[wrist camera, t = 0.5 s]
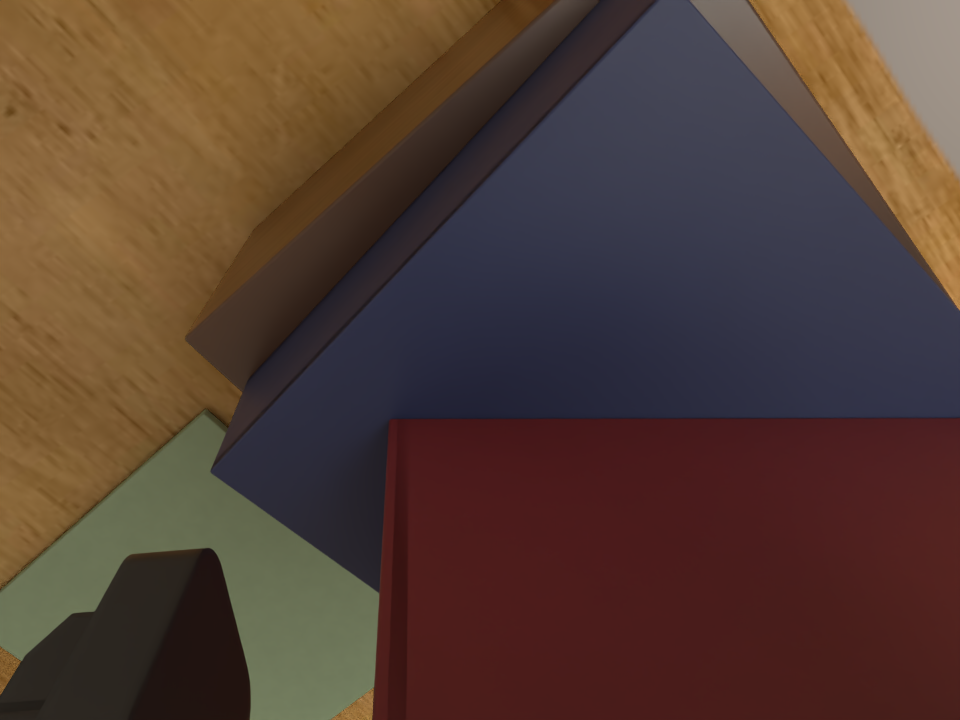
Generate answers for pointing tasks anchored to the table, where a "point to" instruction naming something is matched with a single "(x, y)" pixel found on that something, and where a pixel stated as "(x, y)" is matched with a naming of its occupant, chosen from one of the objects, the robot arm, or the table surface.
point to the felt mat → (247, 570)
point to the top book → (670, 569)
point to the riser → (429, 149)
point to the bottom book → (598, 283)
